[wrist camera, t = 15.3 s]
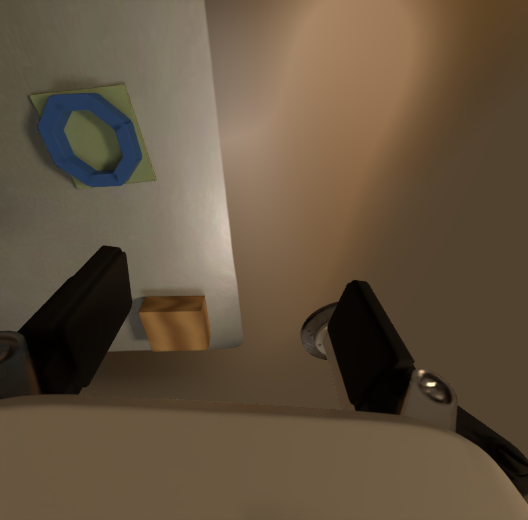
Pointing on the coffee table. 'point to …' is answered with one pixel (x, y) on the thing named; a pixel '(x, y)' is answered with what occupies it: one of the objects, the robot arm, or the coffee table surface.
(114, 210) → the coffee table surface
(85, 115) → the mat
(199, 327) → the platform
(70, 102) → the ring
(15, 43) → the coffee table surface
